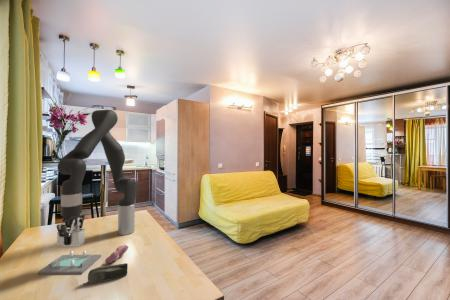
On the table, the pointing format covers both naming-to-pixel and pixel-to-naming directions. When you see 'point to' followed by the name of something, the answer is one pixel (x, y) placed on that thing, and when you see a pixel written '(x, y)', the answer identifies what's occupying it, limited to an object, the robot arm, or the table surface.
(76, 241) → the block
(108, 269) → the mobile phone
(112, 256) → the pink oblong lump
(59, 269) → the docking tray
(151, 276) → the table surface
